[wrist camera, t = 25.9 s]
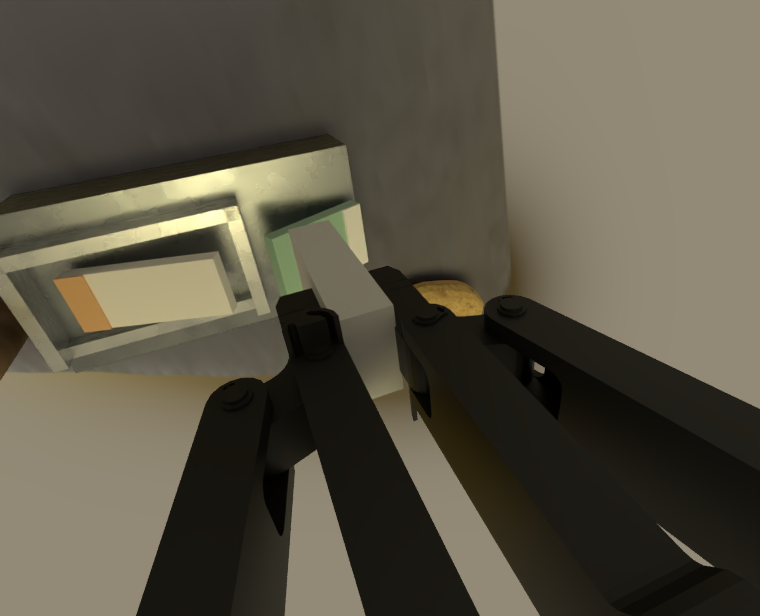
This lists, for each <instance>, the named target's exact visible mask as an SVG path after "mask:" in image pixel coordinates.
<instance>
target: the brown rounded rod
mask: <svg viewBox="0 0 760 616" xmlns="http://www.w3.org/2000/svg"><path fill="white" fill-rule="evenodd" d="M28 337H29V336H28V335H27V333H26V332H25V330H24V329H23V328H22V326H21V325H20V323H19V322H18V320H17V319H16V318H15V316H14V315H13V313H12V312H11V310H10V309H9V307H8V306H7V305H6V303H5V302H4V300H3V299H2V298H1V299H0V380H1V379H2V377H3V376H4V374H5V373H6V371H7V370H8V368H9V366H10V365H11V363H12V362H13V360H14V359H15V357H16V356H17V354H18V352H19V351H20V349H21V348H22V346H23V345H24V343H25V342H26V340H27V338H28Z"/></svg>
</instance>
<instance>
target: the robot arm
mask: <svg viewBox="0 0 760 616" xmlns="http://www.w3.org/2000/svg"><path fill="white" fill-rule="evenodd" d="M288 231H289V235H290V239H291V243H292V247H293V251H294V255H295V259H296V263H297V267H298V271H299V275H300V279H301V283H302V287H303V290H302V291H299V292H295V293H291V294H288V295H284V296H281V297H279V300H278V302H277V304H276V310H277V314H278V317H279V321H280V324H281V328H282V333H283V336H284V340H285V343H286V346H287V350H288V353H289V360H288V363H287V365H286V366H285V368H284V369H283V370H282V371H281V372H280V373H279V374H278V375H277V376H275V377H274V378H272V379H271V380H269V381H267V382H265V383H263V382H262V381H261V380H258V379H255V378H240V379H236V380H233V381H230V382H228V383H226V384H224V385H222V386H220V387H219V388H218V389H217V390H216V391H214V392H213V393H212V394H211V396H210V397H209V399H208V401H207V402H206V404H205V407H204V410H203V413H202V417H201V419H200V423H199V426H198V429H197V432H196V435H195V438H194V441H193V444H192V447H191V450H190V453H189V456H188V459H187V462H186V466H185V468H184V471H183V474H182V478H181V480H180V484H179V486H178V490H177V493H176V496H175V499H174V502H173V505H172V508H171V511H170V514H169V517H168V521H167V523H166V526H165V529H164V532H163V535H162V538H161V541H160V544H159V547H158V550H157V554H156V557H155V560H154V563H153V566H152V569H151V572H150V575H149V578H148V581H147V584H146V587H145V590H144V593H143V596H142V599H141V602H140V605H139V608H138V612H137V614H136V616H284V614H285V601H286V600H285V599H286V587H287V572H288V559H289V545H290V531H291V517H292V503H293V488H294V474H295V470H294V465H295V464H296V463H298V462H299V461H300V460H302V459H304V458H305V457H306V456H308V455H309V454H311V453H312V452H314V451H315V450H316V449H317V452H318V455H319V458H320V462H321V465H322V469H323V472H324V475H325V478H326V482H327V485H328V489H329V492H330V496H331V499H332V503H333V506H334V509H335V512H336V516H337V520H338V523H339V526H340V530H341V533H342V537H343V540H344V543H345V547H346V550H347V554H348V557H349V561H350V564H351V567H352V571H353V574H354V577H355V580H356V584H357V587H358V591H359V594H360V597H361V601H362V605H363V608H364V612H365V615H366V616H479V614H478V612H477V610H476V607H475V606H474V603H473V602H472V599H471V597H470V595H469V594H468V592H467V589H466V587H465V585H464V583H463V581H462V579H461V577H460V575H459V573H458V571H457V569H456V567H455V565H454V563H453V561H452V559H451V557H450V555H449V553H448V551H447V549H446V547H445V545H444V543H443V541H442V539H441V537H440V535H439V533H438V531H437V529H436V527H435V525H434V523H433V521H432V519H431V517H430V515H429V513H428V511H427V509H426V507H425V505H424V503H423V501H422V499H421V497H420V495H419V493H418V491H417V489H416V487H415V485H414V483H413V481H412V479H411V477H410V475H409V473H408V471H407V469H406V467H405V465H404V463H403V461H402V459H401V457H400V455H399V453H398V450H397V449H396V447H395V445H394V442H393V441H392V438H391V436H390V434H389V432H388V430H387V429H386V426H385V424H384V423H383V420H382V418H381V417H380V414H379V412H378V410H377V408H376V406H375V404H374V402H373V400H372V399H374V398H377V397H380V396H383V395H386V394H389V393H391V392H394V391H397V390H400V389H403V388H404V387H403V379H402V374H403V376H404V378H405V379H406V381H407V382H408V385H409V393H410V402H411V411H412V416H413V420H414V421H416V420H417V411H418V413H419V414H420V416H421V418H422V419H423V421H424V423H425V424H426V426H427V428H428V429H429V431H430V433H431V434H432V436H433V437H434V439H435V441H436V443H437V444H438V446H439V448H440V449H441V451H442V453H443V454H444V456H445V458H446V459H447V461H448V463H449V464H450V466H451V468H452V469H453V471H454V473H455V474H456V476H457V478H458V479H459V481H460V483H461V484H462V486H463V488H464V489H465V491H466V493H467V494H468V496H469V498H470V499H471V501H472V503H473V504H474V506H475V508H476V510H477V511H478V513H479V515H480V516H481V518H482V520H483V521H484V523H485V524H486V526H487V528H488V529H489V531H490V533H491V535H492V536H493V538H494V539H495V541H496V543H497V544H498V546H499V548H500V550H501V551H502V553H503V555H504V556H505V558H506V560H507V561H508V563H509V565H510V566H511V568H512V570H513V571H514V573H515V574H516V576H517V578H518V580H519V581H520V583H521V585H522V586H523V588H524V590H525V591H526V593H527V595H528V596H529V598H530V600H531V601H532V603H533V605H534V606H535V608H536V610H537V611H538V613H539V615H540V616H760V409H758V408H756V407H754V406H752V405H750V404H748V403H746V402H744V401H742V400H740V399H738V398H736V397H733V396H731V395H729V394H727V393H725V392H723V391H721V390H719V389H717V388H715V387H713V386H711V385H708V384H706V383H704V382H702V381H700V380H698V379H696V378H694V377H692V376H690V375H688V374H685V373H683V372H681V371H679V370H677V369H675V368H673V367H671V366H669V365H667V364H665V363H662V362H660V361H658V360H656V359H654V358H652V357H650V356H648V355H646V354H644V353H642V352H639V351H637V350H635V349H633V348H631V347H629V346H627V345H625V344H623V343H621V342H618V341H616V340H614V339H612V338H610V337H608V336H606V335H604V334H602V333H600V332H597V331H596V330H593V329H591V328H589V327H587V326H585V325H583V324H581V323H578V322H577V321H575V320H572V319H570V318H568V317H566V316H564V315H562V314H560V313H558V312H556V311H554V310H552V309H550V308H547V307H545V306H543V305H541V304H539V303H537V302H535V301H533V300H531V299H528V298H525V297H522V296H516V295H503V296H498V297H495V298H492V299H491V300H490V301H488V302H487V303H486V305H485V308H484V314H483V315H473V316H456V315H455V314H454V313H453V312H452V311H451V310H450V309H448V308H447V307H445V306H443V305H439V304H431V303H429V302H428V301H427V300H426V299H425V298H424V297H423V296H422V294H421V293H420V292H419V291H418V290H417V289H416V288H415V287H414V286H412V283H411V282H410V281H409V280H407V278H406V277H405V276H404V275H403V274H402V273H401V271H399V270H397V269H394V268H392V267H390V266H385V267H382V268H378V269H374V270H371V271H367V270H366V268H365V267H364V266H363V264H362V263H361V262H360V260H359V259H358V258H357V257H356V255H355V254H354V253H353V251H352V250H351V249H350V247H349V246H348V245H347V243H346V242H345V241H344V240H343V238H342V237H341V236H340V234H339V233H338V232H337V230H336V229H335V228H334V226H333V225H332V224H331V222H330V221H329V220H326V221H321V222H317V223H313V224H309V225H305V226H301V227H297V228H292V229H288ZM535 362H536V363H538V364H540V365H541V366H543V367H545V372H544V374H542V373H540V372H538V371H536V370H534V363H535ZM658 524H659V525H660V526H661V527H663V528H664V529H665V530H666V531H668V532H669V533H671V534H672V535H673V536H674V537H676V538H677V539H678V540H680V541H681V542H682V543H684V544H685V545H686V546H688V547H689V548H690V549H692V550H693V551H694V552H696V553H697V554H698V555H699V556H701V557H702V558H703V559H705V560H706V561H707V562H709V563H710V564H712V565H713V566H714V567H710V566H703V565H702V564H699V563H698V562H696V561H694V560H693V559H692V558H690V557H689V556H688V555H687V554H686V553H685V552H684V551H683V550H682V549H681V548H680V547H679V546H678V545H677V544H676V543H675V542H674V541H673V540H672V539H671V538H670V537H669V536H668V535H667V534H666V533H665V532H664V531H663V530H662V529H661V528H660V527H659V525H658Z"/></svg>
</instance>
